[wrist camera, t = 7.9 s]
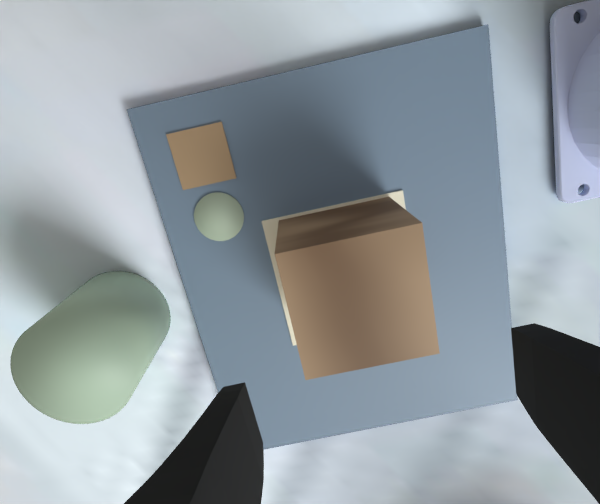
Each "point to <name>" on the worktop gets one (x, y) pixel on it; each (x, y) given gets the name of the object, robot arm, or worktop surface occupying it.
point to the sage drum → (91, 348)
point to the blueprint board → (333, 194)
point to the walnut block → (356, 287)
